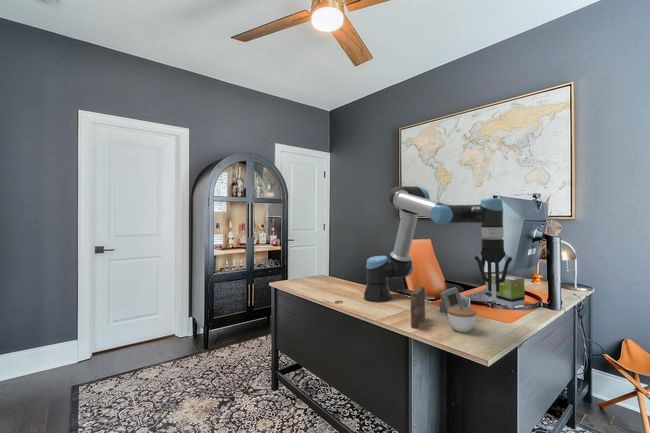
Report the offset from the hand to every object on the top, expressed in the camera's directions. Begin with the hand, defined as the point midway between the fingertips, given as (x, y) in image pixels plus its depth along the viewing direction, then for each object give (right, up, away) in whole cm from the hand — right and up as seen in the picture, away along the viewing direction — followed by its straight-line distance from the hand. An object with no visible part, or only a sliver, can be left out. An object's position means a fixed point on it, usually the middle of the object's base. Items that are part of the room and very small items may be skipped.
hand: (494, 299), depth 119 cm
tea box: (+27, -13, +40) cm, 50 cm away
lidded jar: (-10, -14, +6) cm, 18 cm away
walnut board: (-25, -14, +15) cm, 32 cm away
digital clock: (-4, -14, +29) cm, 32 cm away
